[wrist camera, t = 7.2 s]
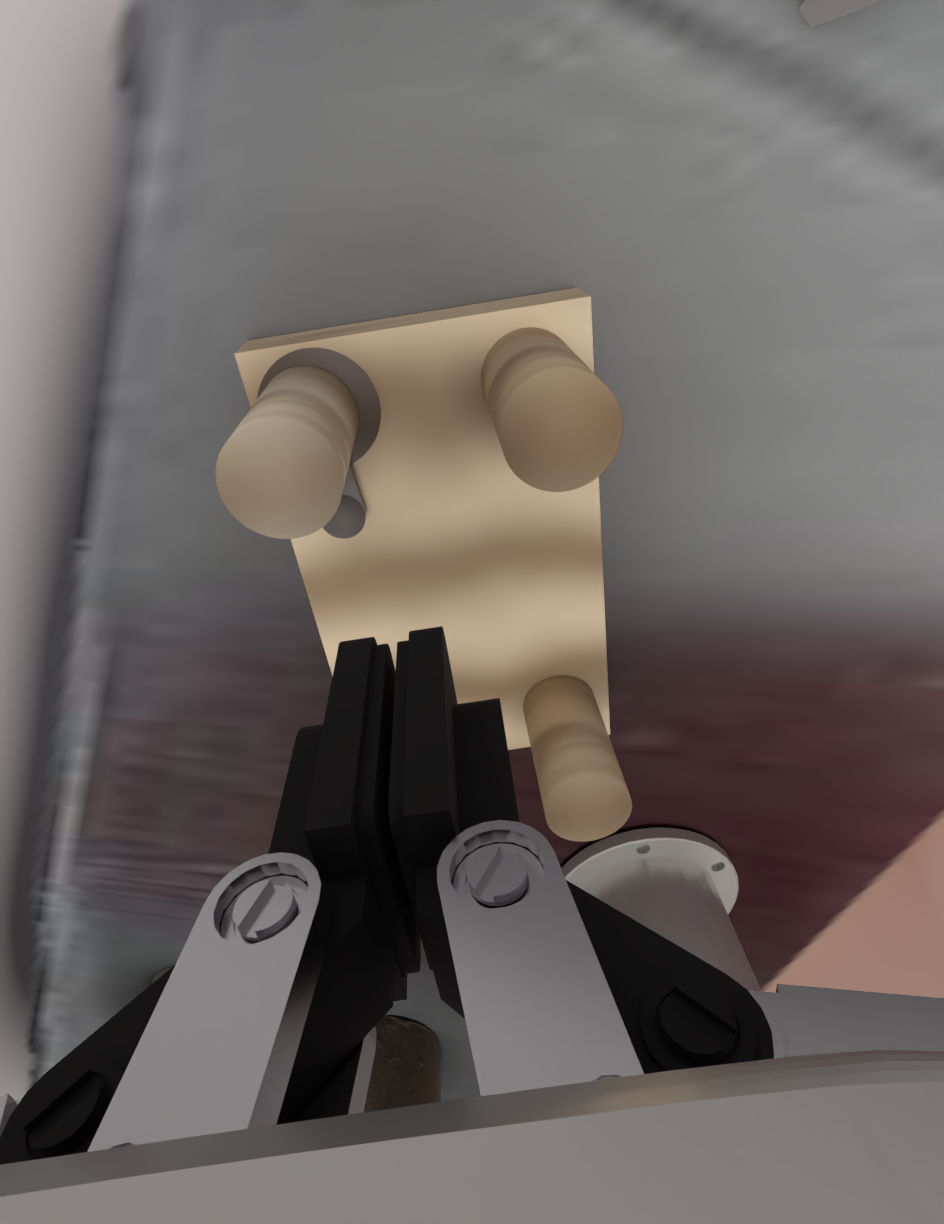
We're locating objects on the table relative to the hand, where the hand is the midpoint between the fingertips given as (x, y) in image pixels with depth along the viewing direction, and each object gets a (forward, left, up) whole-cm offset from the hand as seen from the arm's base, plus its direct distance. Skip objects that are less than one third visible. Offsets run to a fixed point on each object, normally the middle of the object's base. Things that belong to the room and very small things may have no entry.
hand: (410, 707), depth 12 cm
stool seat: (-7, -1, -20) cm, 22 cm away
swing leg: (-1, +4, -18) cm, 18 cm away
